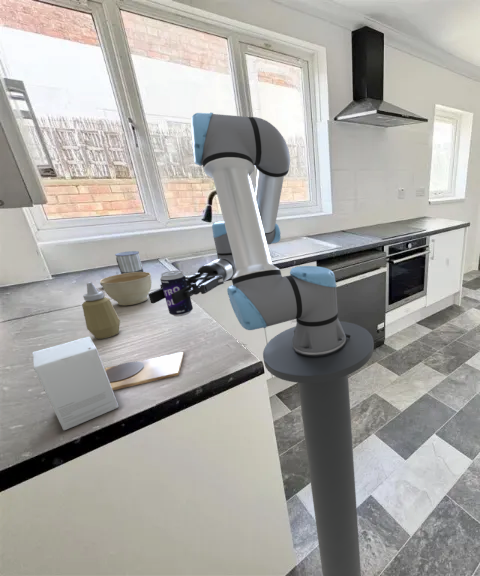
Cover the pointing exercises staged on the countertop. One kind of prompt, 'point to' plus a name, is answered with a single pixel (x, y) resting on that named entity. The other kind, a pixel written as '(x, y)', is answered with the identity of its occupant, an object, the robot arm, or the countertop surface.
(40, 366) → the rectangular carton
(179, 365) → the board
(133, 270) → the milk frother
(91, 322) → the squeeze bottle
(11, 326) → the countertop surface
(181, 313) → the beverage can
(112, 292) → the planter bowl
